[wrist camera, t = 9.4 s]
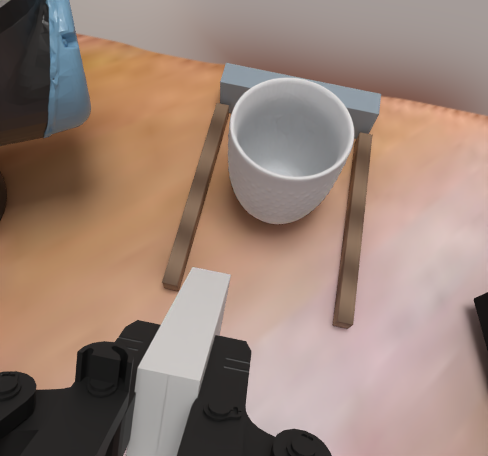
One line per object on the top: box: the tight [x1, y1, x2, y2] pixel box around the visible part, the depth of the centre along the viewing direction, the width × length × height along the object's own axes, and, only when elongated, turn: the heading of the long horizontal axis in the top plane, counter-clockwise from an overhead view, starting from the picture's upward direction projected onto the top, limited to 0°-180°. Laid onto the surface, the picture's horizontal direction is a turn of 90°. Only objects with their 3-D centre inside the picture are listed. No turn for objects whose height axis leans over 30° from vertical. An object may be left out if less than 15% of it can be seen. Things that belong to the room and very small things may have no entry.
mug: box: [228, 78, 354, 224], centre depth 43 cm, size 15×11×13 cm
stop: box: [220, 63, 381, 139], centre depth 51 cm, size 3×18×5 cm, turn 78°
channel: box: [162, 103, 372, 329], centre depth 47 cm, size 23×19×2 cm
